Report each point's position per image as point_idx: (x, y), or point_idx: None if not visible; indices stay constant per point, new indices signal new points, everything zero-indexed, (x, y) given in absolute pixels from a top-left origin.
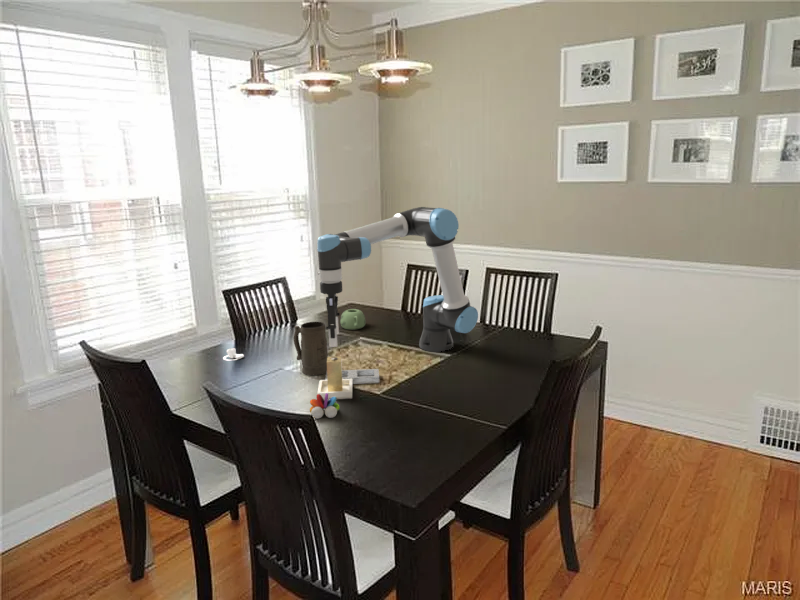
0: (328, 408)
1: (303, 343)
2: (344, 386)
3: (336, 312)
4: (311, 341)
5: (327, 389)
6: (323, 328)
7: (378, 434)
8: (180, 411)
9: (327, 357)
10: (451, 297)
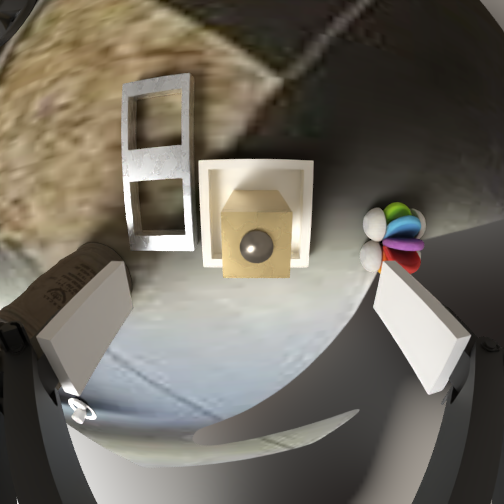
0: (423, 233)
1: None
2: (224, 184)
3: (37, 388)
4: None
5: None
6: (23, 320)
7: (476, 130)
8: (301, 445)
9: (229, 277)
10: None
